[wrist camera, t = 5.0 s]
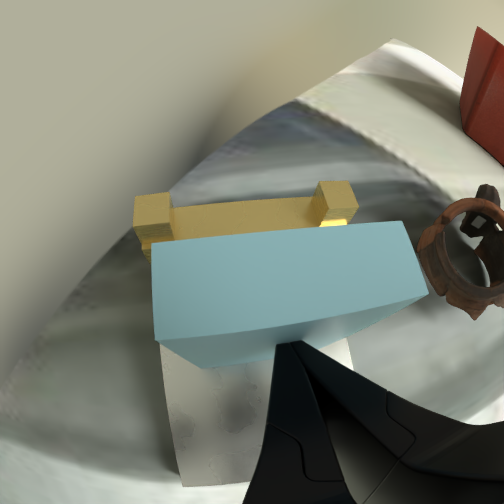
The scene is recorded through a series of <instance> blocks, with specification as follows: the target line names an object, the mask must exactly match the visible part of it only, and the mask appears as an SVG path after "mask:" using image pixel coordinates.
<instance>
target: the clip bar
mask: <svg viewBox="0 0 504 504" xmlns="http://www.w3.org/2000/svg"><path fill="white" fill-rule="evenodd" d="M151 266H152V301H153V320H154V335H155V341H157V342H158V343H160V344H161V345H163V346H165V347H166V348H168V349H169V350H171V351H172V352H174V353H176V354H177V355H179V356H181V357H182V358H184V359H185V360H187V361H189V362H190V363H192V364H194V365H196V366H197V367H199V368H209V367H218V366H227V365H235V364H242V363H249V362H256V361H262V360H269V359H274V354H275V346H276V344H281V343H287V342H288V343H289V342H292V341H298V340H303V341H304V342H306V343H308V344H309V345H311V346H313V347H314V348H316V349H320V348H323V347H325V346H327V345H330V344H332V343H334V342H336V341H339V340H341V339H343V338H345V337H347V336H350V335H352V334H354V333H356V332H358V331H360V330H362V329H364V328H366V327H368V326H370V325H372V324H374V323H376V322H378V321H380V320H382V319H384V318H386V317H388V316H390V315H392V314H394V313H396V312H397V311H399V310H401V309H403V308H405V307H407V306H408V305H410V304H412V303H414V302H416V301H417V300H419V299H421V298H422V297H424V296H426V295H428V294H429V293H428V289H427V286H426V283H425V280H424V277H423V274H422V271H421V268H420V266H419V263H418V260H417V257H416V255H415V252H414V249H413V247H412V244H411V242H410V239H409V237H408V234H407V232H406V229H405V227H404V224H403V222H402V221H389V222H375V223H361V224H348V225H336V226H323V227H311V228H300V229H288V230H277V231H266V232H255V233H245V234H234V235H224V236H214V237H205V238H195V239H186V240H176V241H167V242H158V243H151Z"/></svg>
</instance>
